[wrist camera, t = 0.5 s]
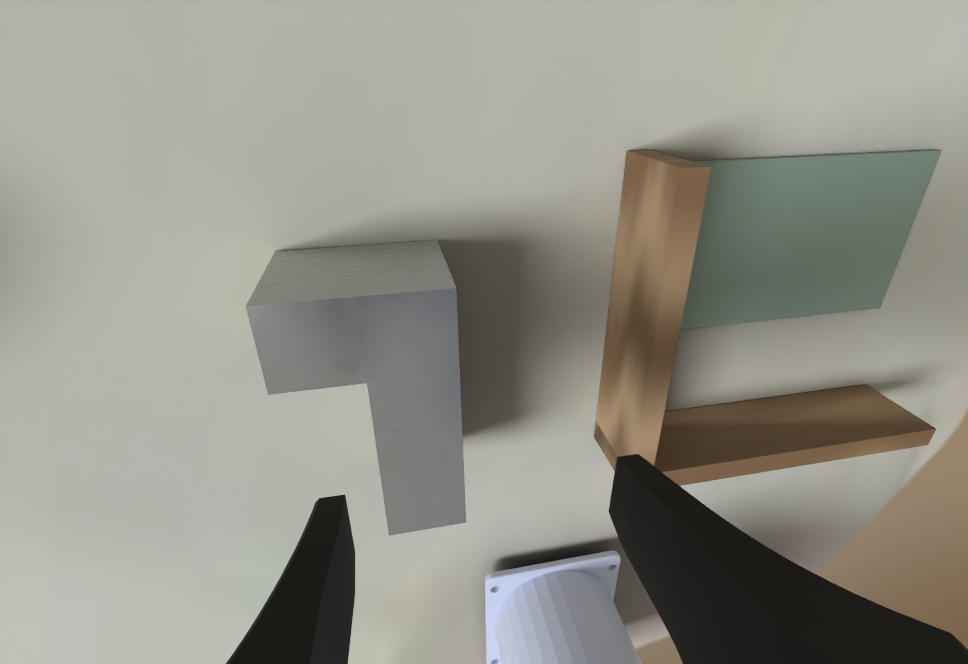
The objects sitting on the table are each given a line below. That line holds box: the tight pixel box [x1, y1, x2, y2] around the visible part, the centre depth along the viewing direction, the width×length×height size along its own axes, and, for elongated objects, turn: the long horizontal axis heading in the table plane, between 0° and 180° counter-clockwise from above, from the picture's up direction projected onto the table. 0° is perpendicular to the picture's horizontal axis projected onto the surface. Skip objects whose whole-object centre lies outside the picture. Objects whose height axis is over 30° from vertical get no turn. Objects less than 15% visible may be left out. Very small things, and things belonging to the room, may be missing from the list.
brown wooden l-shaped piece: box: [594, 150, 936, 486], centre depth 22 cm, size 14×16×4 cm
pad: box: [680, 150, 941, 329], centre depth 22 cm, size 8×13×1 cm, turn 91°
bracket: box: [246, 240, 466, 535], centre depth 19 cm, size 10×6×5 cm, turn 1°
